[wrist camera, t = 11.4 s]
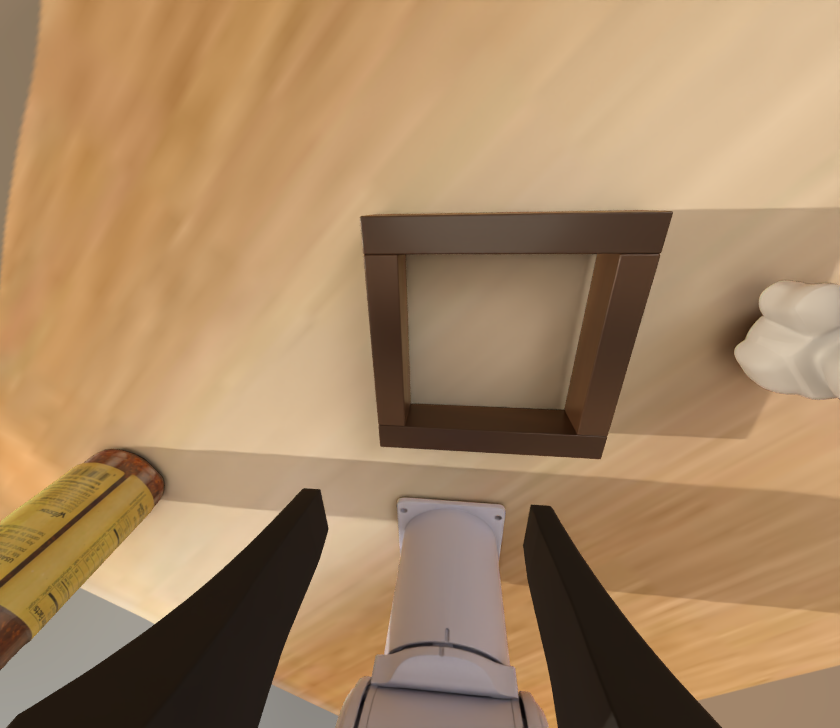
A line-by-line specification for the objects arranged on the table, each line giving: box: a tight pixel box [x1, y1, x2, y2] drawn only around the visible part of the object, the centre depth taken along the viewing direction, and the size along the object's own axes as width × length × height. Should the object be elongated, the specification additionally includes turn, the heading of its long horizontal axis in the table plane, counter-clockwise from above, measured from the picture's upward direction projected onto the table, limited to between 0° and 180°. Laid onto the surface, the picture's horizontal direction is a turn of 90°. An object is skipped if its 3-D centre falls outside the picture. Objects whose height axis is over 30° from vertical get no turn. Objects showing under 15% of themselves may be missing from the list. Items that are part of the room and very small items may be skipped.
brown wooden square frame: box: [360, 210, 673, 459], centre depth 17 cm, size 13×13×2 cm
